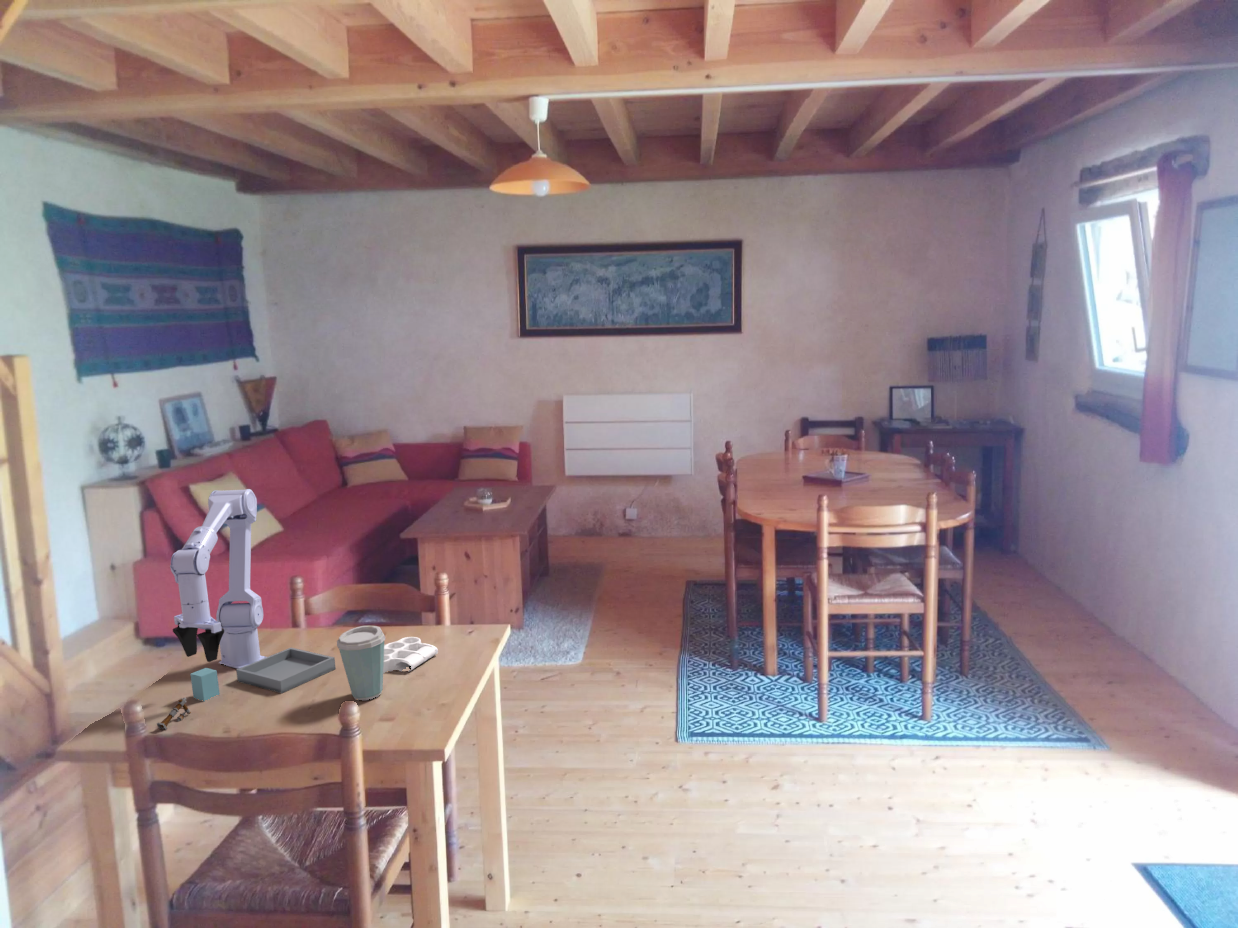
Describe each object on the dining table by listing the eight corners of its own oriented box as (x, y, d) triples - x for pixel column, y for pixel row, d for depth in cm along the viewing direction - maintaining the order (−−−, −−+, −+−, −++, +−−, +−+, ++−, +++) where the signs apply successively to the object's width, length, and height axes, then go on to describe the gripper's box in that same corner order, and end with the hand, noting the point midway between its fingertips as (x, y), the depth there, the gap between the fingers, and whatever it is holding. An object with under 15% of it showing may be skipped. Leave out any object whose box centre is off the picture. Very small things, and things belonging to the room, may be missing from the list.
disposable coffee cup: (372, 707, 203) (366, 642, 201) (331, 702, 207) (325, 638, 205) (399, 688, 213) (394, 626, 211) (360, 683, 217) (354, 622, 214)
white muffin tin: (404, 679, 219) (353, 672, 225) (445, 652, 236) (397, 646, 241) (402, 665, 219) (352, 659, 224) (444, 639, 235) (396, 634, 241)
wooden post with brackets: (195, 709, 204) (187, 695, 202) (171, 738, 198) (162, 723, 196) (189, 708, 205) (180, 694, 203) (165, 737, 199) (155, 722, 196)
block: (193, 698, 213) (190, 673, 212) (209, 691, 216) (205, 667, 215) (204, 701, 211) (201, 676, 210) (219, 694, 214) (216, 670, 213)
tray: (237, 681, 222) (236, 669, 221) (292, 658, 235) (290, 647, 234) (281, 693, 213) (280, 680, 213) (335, 668, 227) (334, 657, 226)
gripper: (159, 601, 210) (166, 658, 212) (198, 610, 203) (205, 668, 205) (187, 593, 216) (194, 648, 218) (226, 600, 208) (233, 658, 211)
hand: (201, 657), depth 212 cm, fingers open, 7 cm apart
